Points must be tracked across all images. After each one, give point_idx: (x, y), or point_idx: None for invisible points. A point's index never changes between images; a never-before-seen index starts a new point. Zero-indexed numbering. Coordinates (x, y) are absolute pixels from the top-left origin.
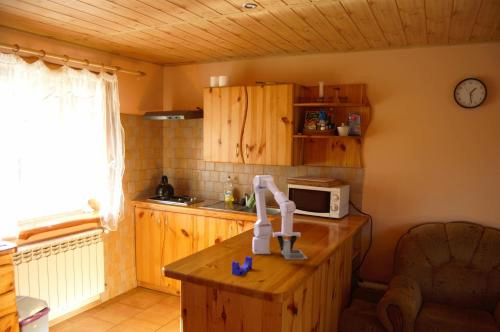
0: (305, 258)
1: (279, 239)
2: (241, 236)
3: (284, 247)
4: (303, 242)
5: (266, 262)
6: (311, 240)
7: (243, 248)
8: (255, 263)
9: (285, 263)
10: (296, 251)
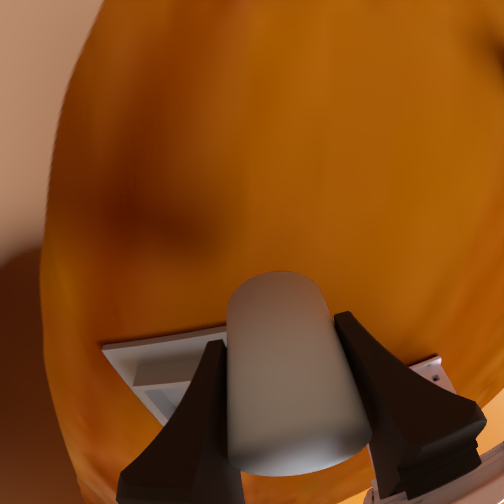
0: (116, 348)
1: (474, 407)
2: None
3: (322, 339)
4: None
5: (419, 235)
6: None
7: None
8: (484, 202)
9: (268, 237)
10: None
